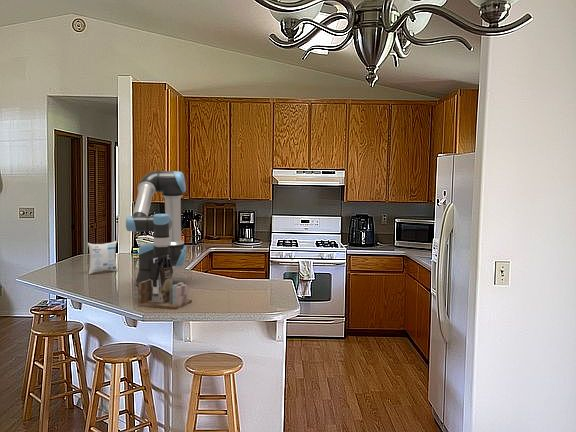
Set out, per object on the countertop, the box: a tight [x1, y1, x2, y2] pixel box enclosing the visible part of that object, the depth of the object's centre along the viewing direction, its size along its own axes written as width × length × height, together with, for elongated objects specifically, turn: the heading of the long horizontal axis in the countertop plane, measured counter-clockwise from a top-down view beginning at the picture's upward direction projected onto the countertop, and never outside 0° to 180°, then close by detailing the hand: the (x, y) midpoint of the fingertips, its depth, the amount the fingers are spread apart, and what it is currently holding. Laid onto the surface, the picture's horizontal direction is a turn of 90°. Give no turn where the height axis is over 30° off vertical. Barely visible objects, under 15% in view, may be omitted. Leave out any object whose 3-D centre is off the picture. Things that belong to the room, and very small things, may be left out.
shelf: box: [137, 279, 193, 310], centre depth 267 cm, size 16×20×11 cm
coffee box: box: [152, 266, 174, 303], centre depth 268 cm, size 9×6×16 cm
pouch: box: [86, 240, 118, 275], centre depth 347 cm, size 8×19×20 cm, turn 128°
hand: (161, 291), depth 267 cm, fingers open, 10 cm apart
